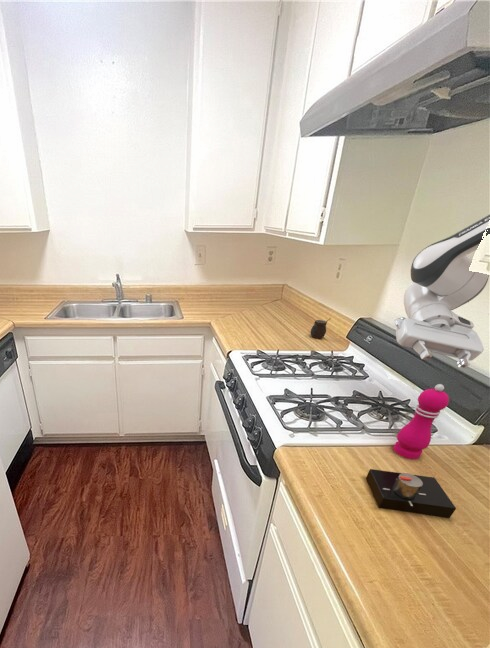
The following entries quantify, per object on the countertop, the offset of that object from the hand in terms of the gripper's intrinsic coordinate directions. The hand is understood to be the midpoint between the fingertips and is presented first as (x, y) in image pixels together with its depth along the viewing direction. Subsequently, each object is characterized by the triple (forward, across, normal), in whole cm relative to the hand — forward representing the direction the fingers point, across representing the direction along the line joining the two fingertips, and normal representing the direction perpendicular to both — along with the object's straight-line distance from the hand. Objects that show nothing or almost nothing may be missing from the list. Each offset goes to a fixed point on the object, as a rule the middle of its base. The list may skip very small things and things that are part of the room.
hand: (445, 361), depth 84 cm
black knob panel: (+32, -7, +14) cm, 35 cm away
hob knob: (+33, -10, +10) cm, 35 cm away
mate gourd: (-76, +2, +59) cm, 96 cm away
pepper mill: (+15, +1, +20) cm, 25 cm away
